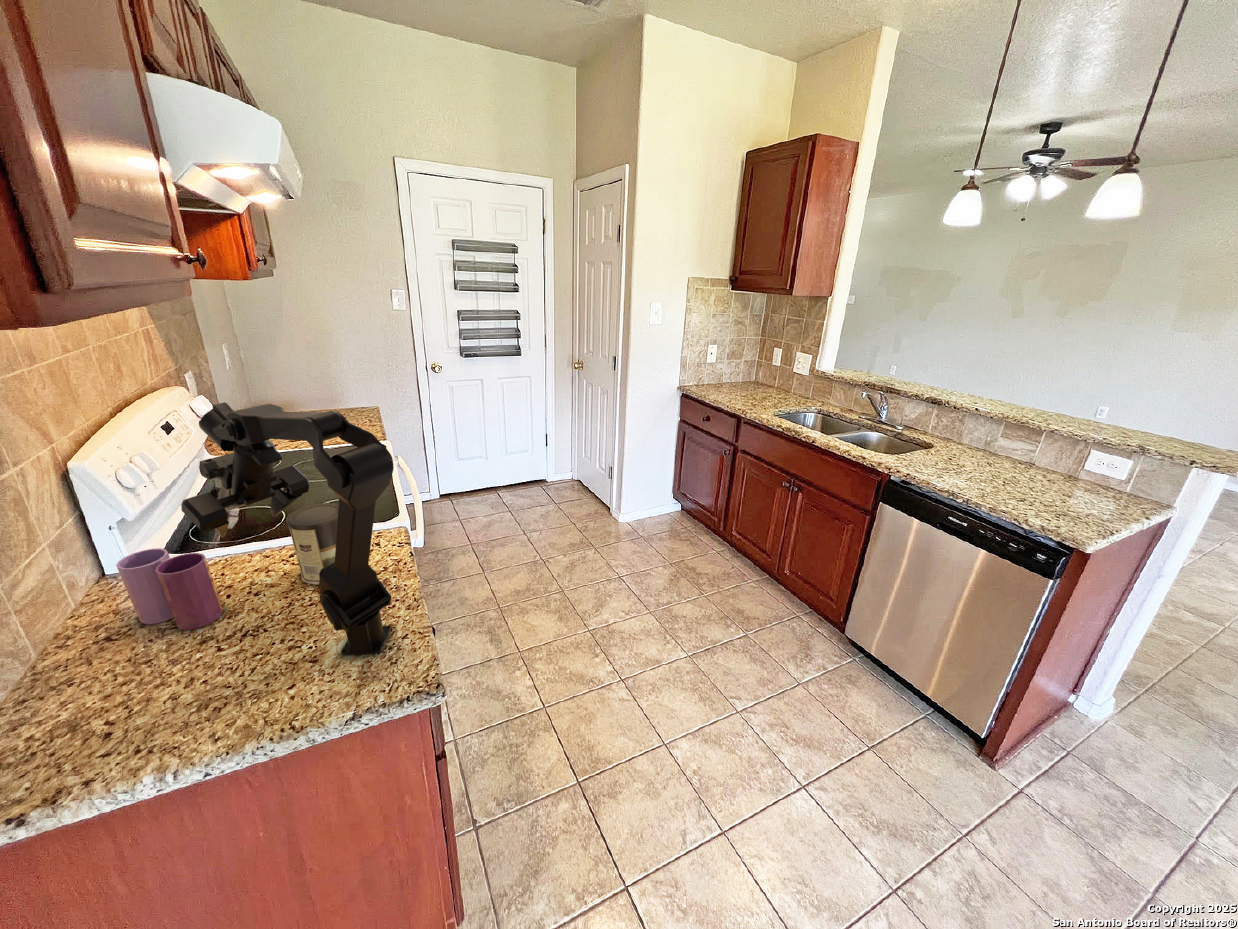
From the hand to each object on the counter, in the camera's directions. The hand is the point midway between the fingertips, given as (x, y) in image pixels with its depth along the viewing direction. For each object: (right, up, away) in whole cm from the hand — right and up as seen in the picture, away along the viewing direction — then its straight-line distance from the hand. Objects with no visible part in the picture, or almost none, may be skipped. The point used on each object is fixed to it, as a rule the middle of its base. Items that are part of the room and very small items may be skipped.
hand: (248, 525), depth 94 cm
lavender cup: (-15, -16, -1) cm, 23 cm away
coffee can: (+8, -12, +13) cm, 19 cm away
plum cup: (-7, -17, -2) cm, 19 cm away
